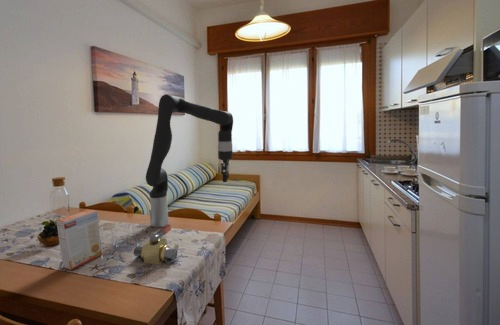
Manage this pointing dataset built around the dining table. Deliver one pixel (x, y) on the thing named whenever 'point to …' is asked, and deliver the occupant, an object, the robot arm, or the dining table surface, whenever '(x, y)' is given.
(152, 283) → the dining table surface
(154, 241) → the lever
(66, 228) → the cracker box
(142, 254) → the valve pipe
